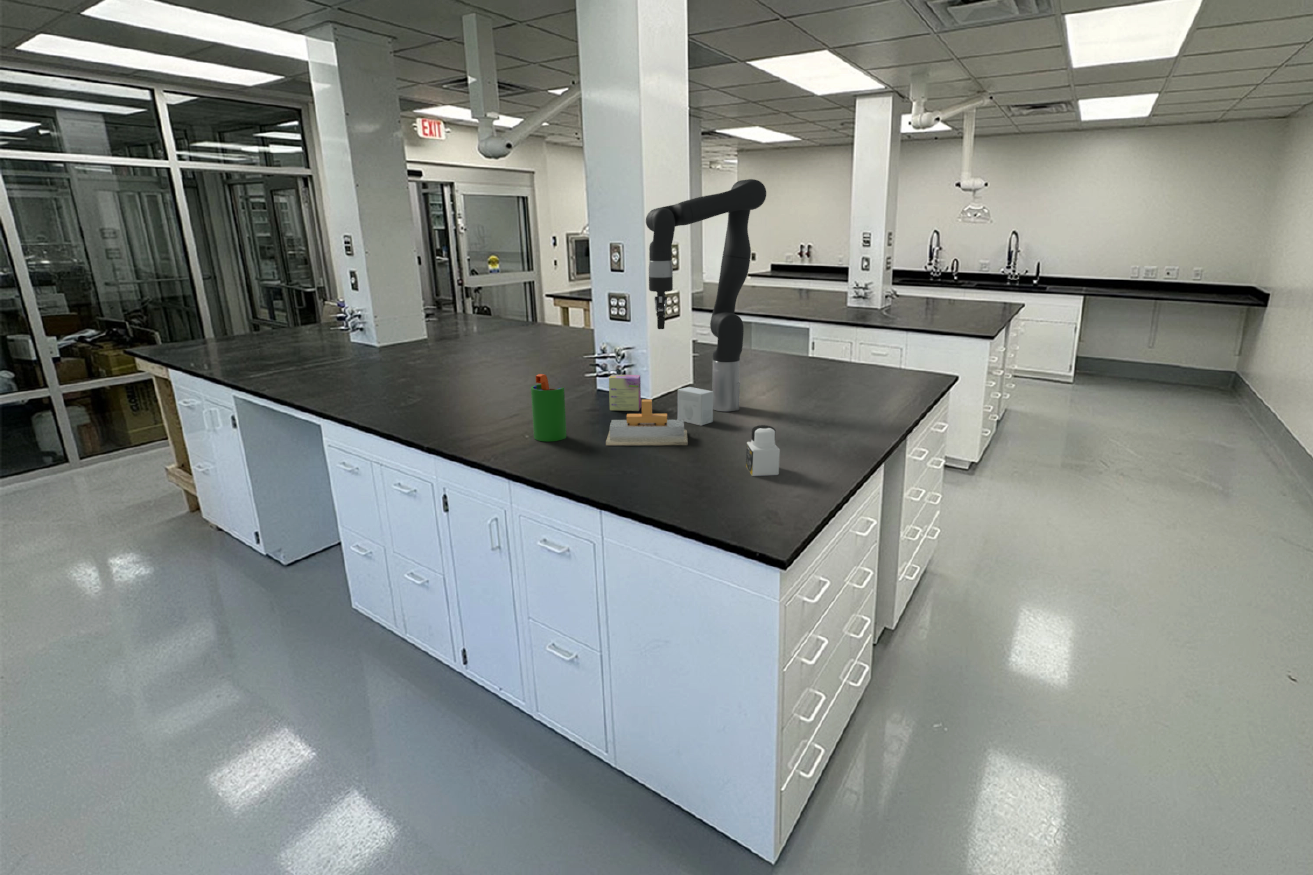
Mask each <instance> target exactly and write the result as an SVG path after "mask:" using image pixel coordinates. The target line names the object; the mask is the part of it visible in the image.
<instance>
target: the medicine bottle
mask: <svg viewBox="0 0 1313 875" xmlns="http://www.w3.org/2000/svg"><path fill="white" fill-rule="evenodd" d="M776 432H777V431H776V428H774V427H773V426H771V425H766V424H764V425H763V424H761V425H760V424H759V425H756V426H754V427H752V428H751V441H747V442H746V450H745V451H746V452H745V453H746V454H745V455H746V456H745V458H746V459H745V466H746V469H747V470H748V472H749V473H750V476H751V477H760V476H761V477H762V476H763V477H764V476H765V477H766V476H778V475H779V473H780V453H781V449H780V448H779V446H778V445H776Z"/></svg>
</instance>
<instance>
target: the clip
mask: <svg viewBox="0 0 1313 875" xmlns="http://www.w3.org/2000/svg"><path fill="white" fill-rule="evenodd" d="M626 420H627V423H629V425H638V423H656V425H665V424H664V423H667V420H668V413H653V399H651V398H650V399H641V413H627V414H626Z"/></svg>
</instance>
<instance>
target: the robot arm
mask: <svg viewBox="0 0 1313 875" xmlns="http://www.w3.org/2000/svg"><path fill="white" fill-rule="evenodd" d="M766 198H767V189H766V187H765V184H764V183H763V182H762V181H760V180H759V179H758V180H757V179H752V178H748V179H742V180H741V179H740V180H738V181H736V182H735V183H734V184H733V185H732V186H731V189H730V190H725V191H724V192H718V193H715V194H714V193H713V194H709V195H704V196H698V197H694V198H691V199H687V200H684V201H681V202H678V203H675V204H669V205H666V206H662V207H657V208H653V209H651V210H650V211H649V212H648V213H647V214H646V217H645V225H646V227H647V228H648V230H649V231H652V232H653V236H652V237H653V239H652V241H651V242H650V243H649V248H648V249H649V252H648V253H649V255H648V256H649V262H648V263H649V264H648V290H649V291H650V292H653V293H654V292H656V293H657V294H656V296H654V305H655V307H654V308H655V312H656V313H655V315H656V317H657V319H656V320H657V323H656V324H657V326H656V327H657V330H664V329H665V324H666V323H665V322H666V321H665V320H666V311H667V304H668V296H666V292H671V291H673V289H674V288H673V287H674V284H673V283H674V282H673V281H674V280H673V278H674V277H673V274H674V272H673V269H674V268H673V258H672V257H673V251H672V250H673V249H672V247H673V241H674V235H675V230H676V227H678V226H679V227H681V226H688V225H692V224H695V223H698V222H702V221H705V220H707V219H710V218H714V217H717V216H720V215H723V214H726V213H727V225H726V226H727V227H726V233H725V238H724V247H723V252H722V258H721V263H720V272H719V279H718V286H717V290H716V291H717V293H716V298H715V302H714V307H713V310H712V315H711V318H710V322H709V323H710V324H709V325H710V326H709V327H710V332H711V333H712V335H713V336H714V337H716V338H717V344H716V345H717V346H716V349H715V350H714V351H712V352H713V353H712V375H711V376H712V377H711V378H712V380H711V382H712V383H711V384H712V386H711V387H712V388H711V389H712V390H711V391H713V411H717V412H734V411H740V393H741V391H740V390H741V389H740V388H741V384H740V362H741V361H740V360H741V355H742V352H743V346H744V345H743V344H744V329H745V328H744V322H743V320H742V318H741V317H740V316H739V315H738V314H735V311H736V304H737V298H738V296H739V293H740V291H741V289H742V287H743V285H744V283H745V282H746V280H747V277H748V274H749V269H750V263H751V255H752V250H751V247H752V246H751V242H750V241H751V240H750V237H749V228H748V227H749V218H750V215H751V211H753V210H756V209H758V208H760V207H761V206H762V205H763V204H764V203H765V201H766V200H767V199H766Z"/></svg>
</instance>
